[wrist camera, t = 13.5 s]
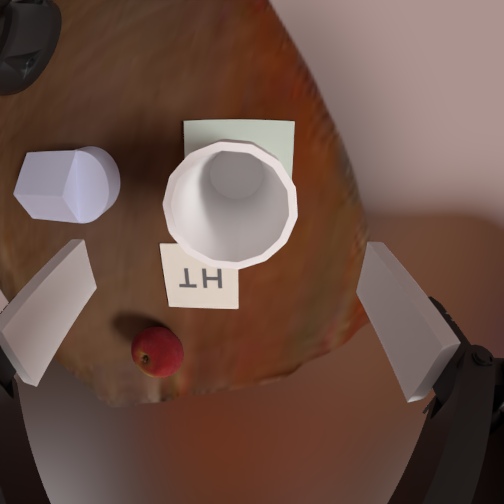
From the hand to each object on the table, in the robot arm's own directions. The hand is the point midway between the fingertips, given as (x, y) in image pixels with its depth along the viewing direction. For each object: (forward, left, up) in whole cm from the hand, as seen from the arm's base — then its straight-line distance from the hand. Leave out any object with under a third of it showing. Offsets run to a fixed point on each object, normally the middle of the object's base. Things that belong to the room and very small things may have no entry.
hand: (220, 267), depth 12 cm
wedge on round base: (0, -21, -22) cm, 30 cm away
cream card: (+14, -5, -21) cm, 26 cm away
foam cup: (0, 0, -21) cm, 21 cm away
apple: (+25, -12, -22) cm, 35 cm away
